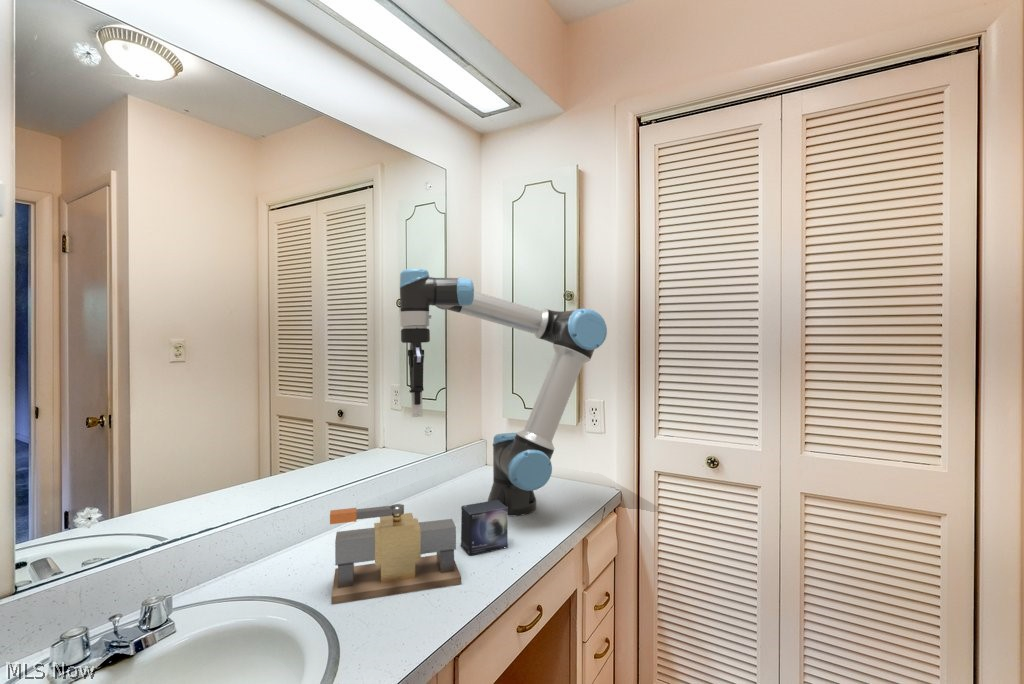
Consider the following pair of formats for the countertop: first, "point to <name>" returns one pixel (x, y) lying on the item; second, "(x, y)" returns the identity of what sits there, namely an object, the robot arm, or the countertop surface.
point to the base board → (371, 586)
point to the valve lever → (364, 513)
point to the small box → (484, 527)
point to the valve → (395, 547)
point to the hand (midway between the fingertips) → (417, 416)
